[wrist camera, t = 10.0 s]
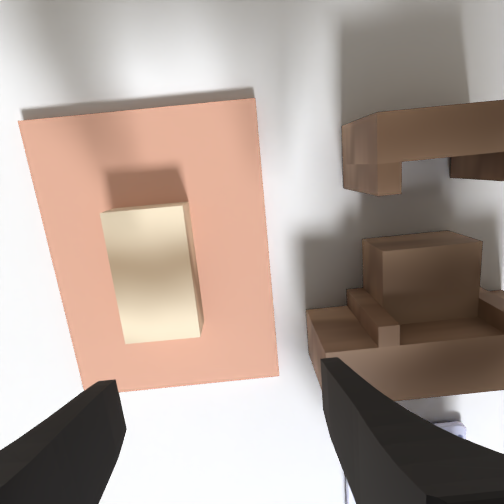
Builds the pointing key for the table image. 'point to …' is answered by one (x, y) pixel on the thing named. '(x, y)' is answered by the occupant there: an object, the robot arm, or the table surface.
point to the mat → (150, 193)
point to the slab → (154, 271)
